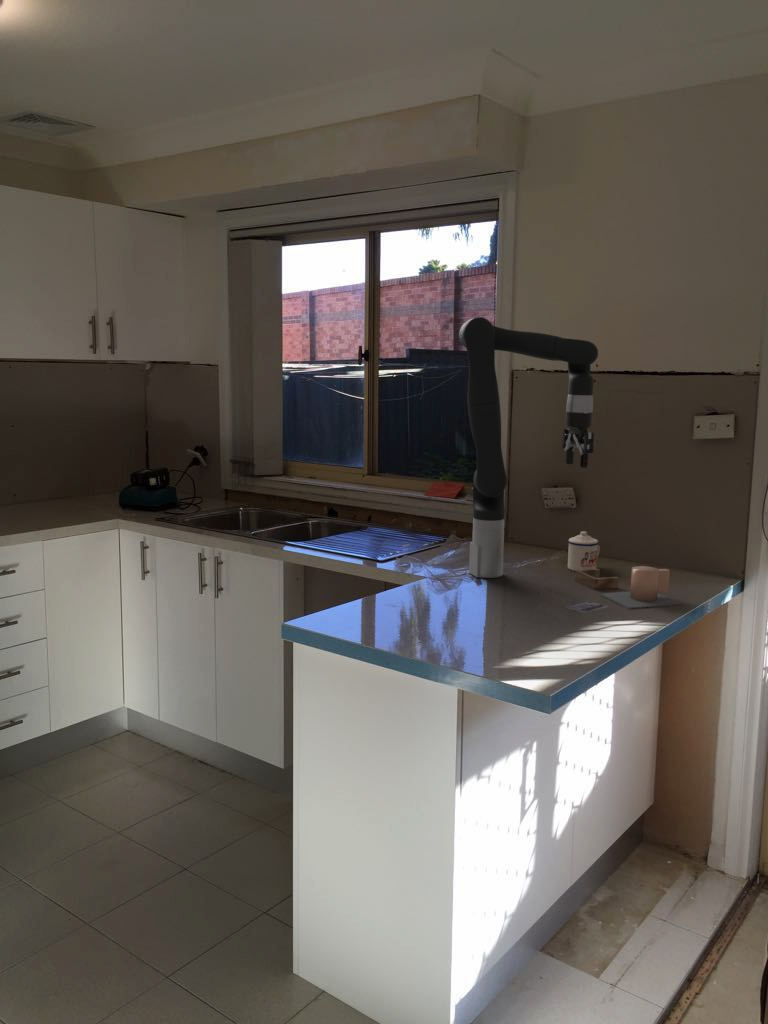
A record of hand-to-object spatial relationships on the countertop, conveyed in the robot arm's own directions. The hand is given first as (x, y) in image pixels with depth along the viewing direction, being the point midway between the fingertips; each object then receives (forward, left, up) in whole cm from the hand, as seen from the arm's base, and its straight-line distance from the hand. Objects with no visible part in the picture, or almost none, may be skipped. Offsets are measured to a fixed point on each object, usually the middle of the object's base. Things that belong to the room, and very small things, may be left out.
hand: (576, 465), depth 254 cm
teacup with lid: (+8, +5, -33) cm, 34 cm away
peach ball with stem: (+7, -31, -32) cm, 45 cm away
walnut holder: (+1, -13, -33) cm, 35 cm away
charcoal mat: (+4, -31, -33) cm, 45 cm away
